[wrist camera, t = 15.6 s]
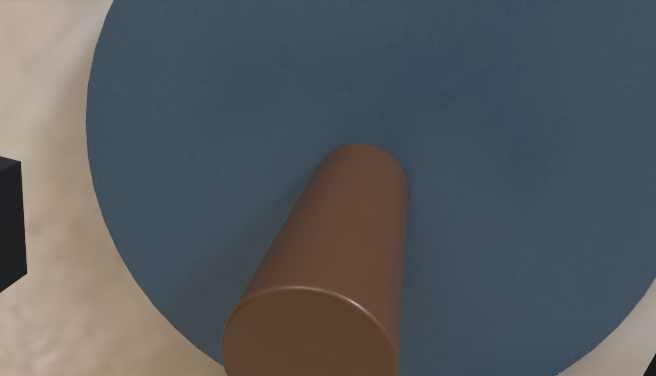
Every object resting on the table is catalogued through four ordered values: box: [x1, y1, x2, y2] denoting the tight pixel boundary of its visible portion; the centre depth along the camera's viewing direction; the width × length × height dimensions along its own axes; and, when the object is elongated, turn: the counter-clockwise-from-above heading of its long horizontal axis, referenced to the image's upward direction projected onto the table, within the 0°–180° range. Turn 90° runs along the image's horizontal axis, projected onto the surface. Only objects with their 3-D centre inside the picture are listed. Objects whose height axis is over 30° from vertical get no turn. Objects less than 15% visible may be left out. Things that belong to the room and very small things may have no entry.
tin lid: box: [86, 0, 656, 376], centre depth 12 cm, size 19×19×9 cm
